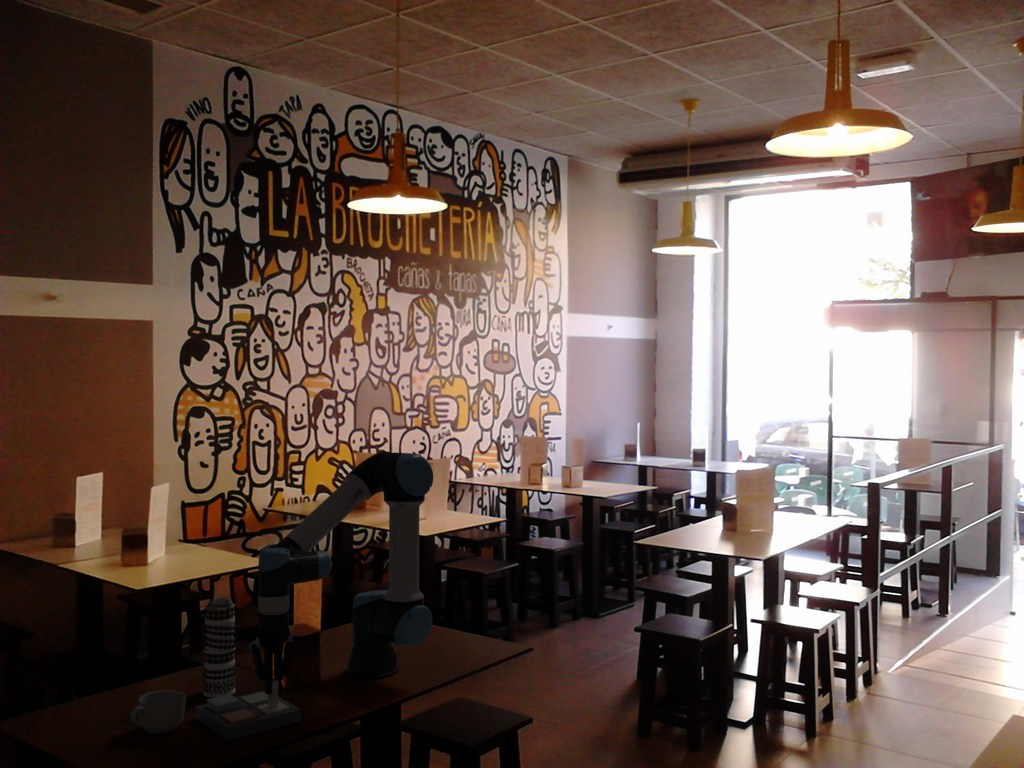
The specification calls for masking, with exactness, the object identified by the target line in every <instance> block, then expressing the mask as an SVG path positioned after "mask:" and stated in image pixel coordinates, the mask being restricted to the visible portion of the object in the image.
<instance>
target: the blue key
mask: <svg viewBox="0 0 1024 768" xmlns="http://www.w3.org/2000/svg"><path fill="white" fill-rule="evenodd" d="M235 697H236V696H233V694H231V695H230V694H229V695H225V696H220V697H216V698H208V699H206V704H207V709H208V710H210V711H211V712H213V713H214V714H219V713H223V712H227V711H232V710H236V709H240V700H238V699H237V698H235Z"/></svg>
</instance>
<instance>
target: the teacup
mask: <svg viewBox="0 0 1024 768" xmlns="http://www.w3.org/2000/svg"><path fill="white" fill-rule="evenodd" d="M186 699H187V695H186V693H185V692H182V691H179V690H173V689H172V690H171V689H170V690H168V689H164V690H163V689H162V690H161V689H160V690H155V691H154V690H153V691H149V692H146V693H144V694H142V695H140V697H139V698H138V705H137V706H135V707H134V708H133V709H132V711H131V713H130V721H131V722H132V724H134V725H136V726H138V727H140V728H141V730H145V732H147V733H149V734H153V735H162V734H163V733H164V734H168V733H171V732H173V731H174V730H175V729H176V728H178V727H179V726H180V725H181V724H182V723H183V720H184V717H185V711H186V710H185V709H186ZM137 715H138V719H137ZM170 731H171V732H170ZM167 732H168V733H167ZM164 734H163V735H164Z"/></svg>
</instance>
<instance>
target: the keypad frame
mask: <svg viewBox="0 0 1024 768" xmlns="http://www.w3.org/2000/svg"><path fill="white" fill-rule="evenodd" d="M261 692H263V693H265V689H264V690H260V691H256V692H251V693H248V694H243V695H239V696H234V697H235V698H237V699H238V700H240V709H236V710H232V711H227V712H223V713H219V714H214V713H213V712H211V711H210V710H208V709H207V703H205V704H201V705H197V706H195V720H197V721H198V722H200V723H201V724H202V725H204V726H206V728H208V729H210V730H211V731H212V732H214V733H215V734H217V735H218V736H220V737H221V738H223V739H224V740H225V741H227V742H229V741H233V740H235V739H240V738H244V737H247V736H252V735H256V734H259V733H262V732H267V731H270V730H274V729H279V728H281V727H286V726H289V725H293V724H296V722H297V723H300V721H301V722H302V709H301V708H300V707H298V706H296V705H294V704H292V703H290V702H289V701H287V700H285V699H283V698H281V697H280V696H278V701H279V702H281V703H283V704H285V705H286V706H288V707H290V710H287V711H283V712H279V713H275V714H271V715H268V716H266V715H264V714H263V713H261V712H259V711H258V710H256V707H257V706H261V705H265V704H268V702H264V703H260V704H256V705H252V706H249V705H248V704H246V703H244V702H243V701H241V697H244V696H248V695H253V694H257V693H261ZM265 694H266V693H265ZM267 695H268V694H267ZM240 710H247V711H248V712H250V713H252V714H253V715H255V716H256V719H252V720H248V721H244V722H240V723H236V724H232V725H230V724H229V723H227V722H226V721H224V720H223V719H222V715H224V714H228V713H232V712H236V711H240Z"/></svg>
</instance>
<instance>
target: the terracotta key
mask: <svg viewBox="0 0 1024 768" xmlns="http://www.w3.org/2000/svg"><path fill="white" fill-rule="evenodd" d="M222 719H223V720H224V721H226V722H227V723H229V724H230V725H232V724H236V723H240V722H244V721H248V720H252V719H256V716H255V715H253V714H252V713H250V712H248V711H247V710H240V711H236V712H232V713H228V714H224V715H222Z"/></svg>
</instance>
